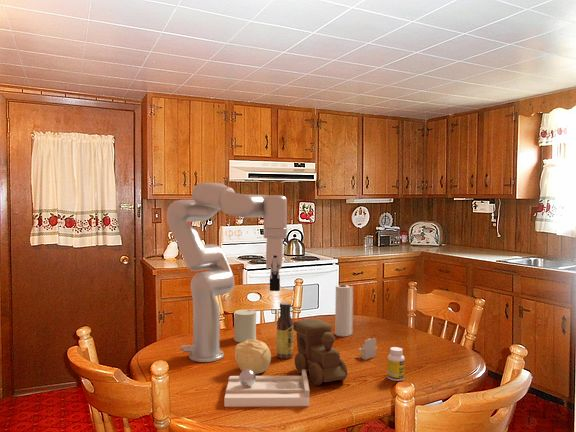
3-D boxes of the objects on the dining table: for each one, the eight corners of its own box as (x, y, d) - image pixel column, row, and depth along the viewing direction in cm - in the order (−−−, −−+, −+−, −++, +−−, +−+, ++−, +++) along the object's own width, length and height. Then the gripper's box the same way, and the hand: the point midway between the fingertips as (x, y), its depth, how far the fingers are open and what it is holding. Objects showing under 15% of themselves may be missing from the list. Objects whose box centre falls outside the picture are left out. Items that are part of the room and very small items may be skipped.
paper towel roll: (333, 336, 197) (334, 286, 196) (336, 332, 203) (337, 284, 202) (350, 337, 195) (351, 287, 194) (352, 333, 201) (353, 285, 200)
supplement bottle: (401, 382, 147) (401, 352, 147) (384, 379, 150) (385, 349, 150) (406, 377, 152) (406, 348, 152) (390, 373, 155) (391, 345, 154)
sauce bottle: (291, 360, 167) (291, 306, 166) (274, 358, 168) (275, 305, 168) (294, 354, 174) (295, 302, 173) (278, 353, 175) (278, 301, 174)
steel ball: (238, 389, 135) (238, 372, 135) (239, 382, 140) (239, 366, 140) (255, 389, 135) (255, 372, 135) (256, 382, 140) (256, 366, 140)
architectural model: (358, 358, 171) (358, 338, 171) (371, 354, 175) (371, 335, 175) (364, 360, 168) (364, 340, 168) (378, 357, 172) (378, 337, 172)
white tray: (224, 406, 129) (224, 390, 129) (229, 383, 145) (229, 369, 145) (309, 406, 130) (309, 390, 130) (305, 383, 146) (305, 369, 146)
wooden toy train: (290, 368, 159) (290, 321, 158) (318, 363, 164) (319, 317, 163) (319, 390, 141) (320, 337, 140) (350, 384, 146) (351, 332, 145)
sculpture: (230, 374, 153) (230, 342, 153) (246, 362, 164) (246, 332, 164) (261, 379, 149) (261, 346, 149) (275, 367, 160) (276, 336, 160)
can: (260, 338, 193) (260, 310, 192) (247, 344, 185) (247, 314, 185) (243, 334, 198) (243, 307, 197) (229, 340, 190) (229, 311, 190)
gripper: (264, 231, 158) (263, 284, 158) (262, 235, 140) (262, 294, 141) (285, 231, 158) (285, 284, 158) (287, 235, 141) (286, 294, 141)
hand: (274, 288), depth 150 cm, fingers open, 5 cm apart
